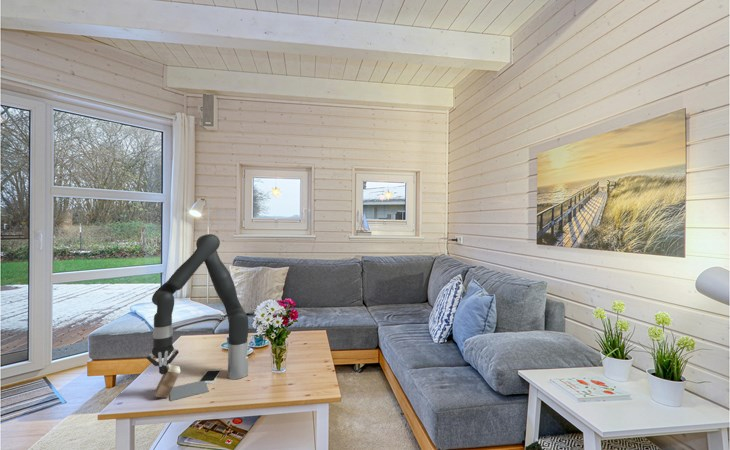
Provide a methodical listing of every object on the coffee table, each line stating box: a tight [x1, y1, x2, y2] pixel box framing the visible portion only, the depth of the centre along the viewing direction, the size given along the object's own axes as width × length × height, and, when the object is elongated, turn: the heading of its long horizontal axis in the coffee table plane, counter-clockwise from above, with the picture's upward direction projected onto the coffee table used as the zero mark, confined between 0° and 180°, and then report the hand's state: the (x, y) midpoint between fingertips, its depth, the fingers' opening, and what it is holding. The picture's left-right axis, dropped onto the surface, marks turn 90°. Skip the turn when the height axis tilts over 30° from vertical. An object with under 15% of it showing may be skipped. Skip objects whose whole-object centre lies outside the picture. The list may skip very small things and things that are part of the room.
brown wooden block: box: [154, 363, 181, 399], centre depth 152 cm, size 5×6×12 cm
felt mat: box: [169, 380, 210, 402], centre depth 156 cm, size 16×13×1 cm
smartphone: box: [199, 368, 223, 385], centre depth 171 cm, size 7×16×1 cm, turn 7°
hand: (162, 373), depth 151 cm, fingers closed
